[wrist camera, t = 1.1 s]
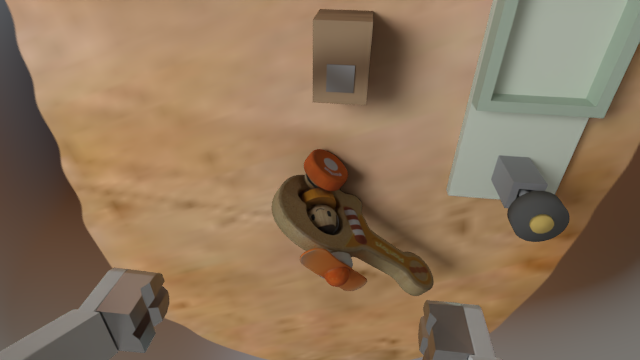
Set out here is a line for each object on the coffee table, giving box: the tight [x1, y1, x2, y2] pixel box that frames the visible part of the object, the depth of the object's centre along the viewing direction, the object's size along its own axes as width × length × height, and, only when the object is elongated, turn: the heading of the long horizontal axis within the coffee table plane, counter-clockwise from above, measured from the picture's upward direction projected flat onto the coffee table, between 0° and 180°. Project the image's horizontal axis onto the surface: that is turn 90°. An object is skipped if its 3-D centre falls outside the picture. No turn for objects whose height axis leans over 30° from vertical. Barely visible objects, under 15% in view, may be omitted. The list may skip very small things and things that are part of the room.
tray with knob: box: [446, 0, 640, 208], centre depth 33 cm, size 26×11×6 cm, turn 179°
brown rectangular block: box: [313, 9, 373, 105], centre depth 34 cm, size 7×5×5 cm
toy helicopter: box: [272, 149, 433, 296], centre depth 40 cm, size 8×21×14 cm, turn 56°
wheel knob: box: [507, 189, 569, 242], centre depth 34 cm, size 4×4×5 cm
